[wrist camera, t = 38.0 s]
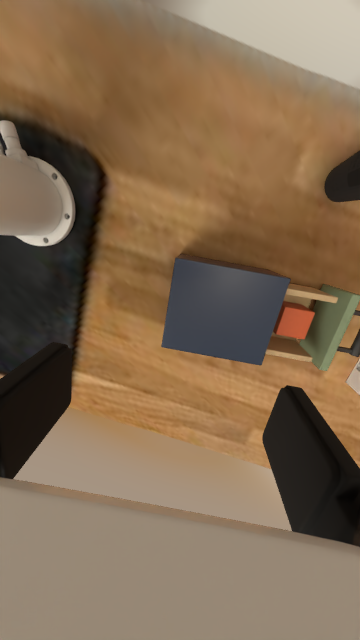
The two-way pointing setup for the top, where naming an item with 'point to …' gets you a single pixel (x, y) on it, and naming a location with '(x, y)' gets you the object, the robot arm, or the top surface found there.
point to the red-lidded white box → (355, 378)
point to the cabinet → (222, 309)
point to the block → (293, 320)
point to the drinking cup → (344, 180)
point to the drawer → (319, 326)
